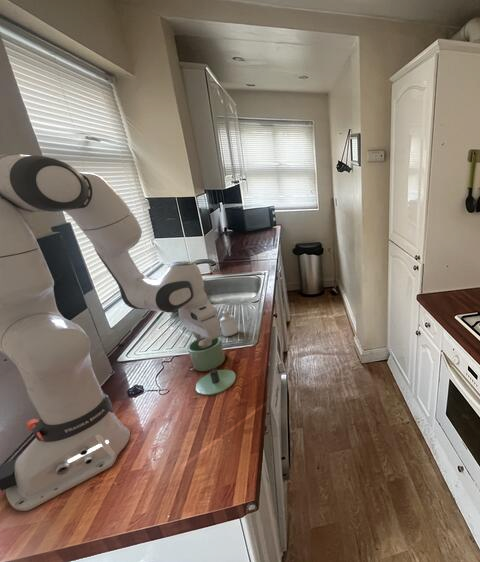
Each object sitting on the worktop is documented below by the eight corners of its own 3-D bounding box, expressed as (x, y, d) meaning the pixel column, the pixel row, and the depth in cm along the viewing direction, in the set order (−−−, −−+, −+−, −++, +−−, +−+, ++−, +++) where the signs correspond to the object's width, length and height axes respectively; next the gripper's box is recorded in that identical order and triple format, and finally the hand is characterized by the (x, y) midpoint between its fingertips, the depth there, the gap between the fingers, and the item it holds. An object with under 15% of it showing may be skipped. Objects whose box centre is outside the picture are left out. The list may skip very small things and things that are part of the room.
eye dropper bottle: (235, 336, 129) (230, 310, 124) (222, 337, 128) (215, 311, 124) (238, 330, 133) (233, 305, 128) (225, 331, 132) (219, 306, 128)
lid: (209, 402, 94) (205, 389, 92) (188, 387, 100) (184, 375, 98) (243, 380, 103) (240, 367, 101) (223, 367, 109) (220, 356, 107)
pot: (203, 375, 105) (197, 355, 102) (188, 365, 111) (181, 346, 108) (231, 360, 113) (226, 340, 110) (215, 351, 119) (210, 332, 115)
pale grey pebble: (203, 350, 106) (201, 344, 105) (195, 347, 109) (193, 340, 108) (214, 344, 110) (213, 338, 109) (206, 341, 112) (204, 335, 111)
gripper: (169, 303, 106) (179, 337, 111) (200, 318, 96) (210, 355, 101) (188, 297, 111) (197, 330, 116) (220, 310, 100) (228, 346, 106)
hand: (203, 342), depth 108 cm, fingers closed on pale grey pebble, 5 cm apart
